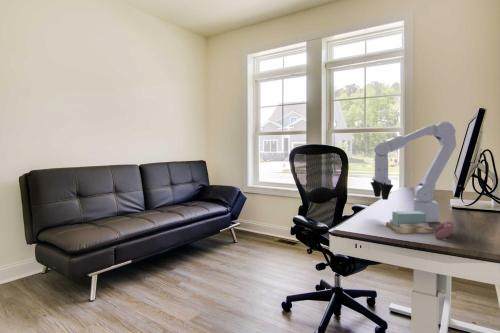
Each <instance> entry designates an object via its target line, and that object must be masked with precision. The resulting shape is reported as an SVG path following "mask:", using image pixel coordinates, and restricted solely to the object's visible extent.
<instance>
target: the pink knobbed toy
mask: <svg viewBox="0 0 500 333" xmlns="http://www.w3.org/2000/svg"><path fill="white" fill-rule="evenodd" d="M434 232H435V234H434V237H435V238H436V239H444V238H448V237H449V236H450V235H451V234H455V232H456V231H455V223H454V222H453V221H451V220H445V221H443V222H442V223H441V224H439V225H437V226H436V227H435V228H434Z"/></svg>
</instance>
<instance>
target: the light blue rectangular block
mask: <svg viewBox="0 0 500 333" xmlns="http://www.w3.org/2000/svg"><path fill="white" fill-rule="evenodd" d="M391 213H392V218H391V219H392V224H394V225H396V226H398V227H399V224H422V223H427V222H426V213H423V212H420V211H412V210H411V211H410V210H407V211H405V210H404V211H392V212H391Z"/></svg>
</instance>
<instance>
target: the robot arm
mask: <svg viewBox="0 0 500 333" xmlns="http://www.w3.org/2000/svg"><path fill="white" fill-rule="evenodd" d="M456 132H457V130H456V128H455V126H454V125H453V124H452V123H451V122H450V121H442V122H437V123H435V124H431V125H426V126H424V127H421V128H420V129H417V130H414V131H413V132H411V133H409V134H406V135H401V134H399V135H397V134H395V135H394V136H393V137H392V138H389V139H387V140H386V139H384V140H382V141H383V142H380V143H377V144H376V145H375V147H374V149H373V152H374V153H375V155H374V176H372V178H371V179H372V180H371V182H370V185H371V187H372V189H373V194H374V197H375V198H380V197H381V199H382V201H385V200H386V201H387V200H388V199H389V196H390V192H391V190H392V188H393V187H394V185H393V184H392V179H389V153H393V152H395V151H397V150H401V149H403V148H405V147H406V145H407V144H408V143H409V142H412V141H414V140H416V139H419V138H420V139H421V138H423V137H425V136H428V137H430V136H431V137H432V136H433V137H435V138H436V139H437V142H438V143H439V144H440V148H439V149H438V151H437V153H436V154H435V156H434V159H432V162H431V164H430V165H429V168H428V169H427V171H426V173H425V175H424V177H423V178H422V179H421V180H420V182H419V183H418V184H417V185H416V186H414V188H413V190H412V193H413V195H414V196H415V197H414V198H413V209H412V210H413V211H420V212H423V213H426V222H425V223H441V220H440V205H439V203H438V202H437V201H436V200H433V198H434V190H435V189H436V183H437V181H438V179H439V178H440V176H441V174H442V172H443V171H444V169H445V167H446V165H447V163H448V162H449V160H450V158H451V157H452V154H453V152H454V151H455V149H456V147H457V139H456Z"/></svg>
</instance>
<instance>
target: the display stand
mask: <svg viewBox="0 0 500 333" xmlns="http://www.w3.org/2000/svg"><path fill="white" fill-rule="evenodd" d="M385 223H386V224H385V226H386V227H388V229H391V230H393V231H395V232H397V233H399V234H424V233H425V234H427V233H429V234H430V233H434V228H433V227H430V226H429V225H430V224H429V222H425V223H422V224H399V227H398V226H396V225H394V224H392V218H390V219H389V221H386V222H385Z"/></svg>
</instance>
